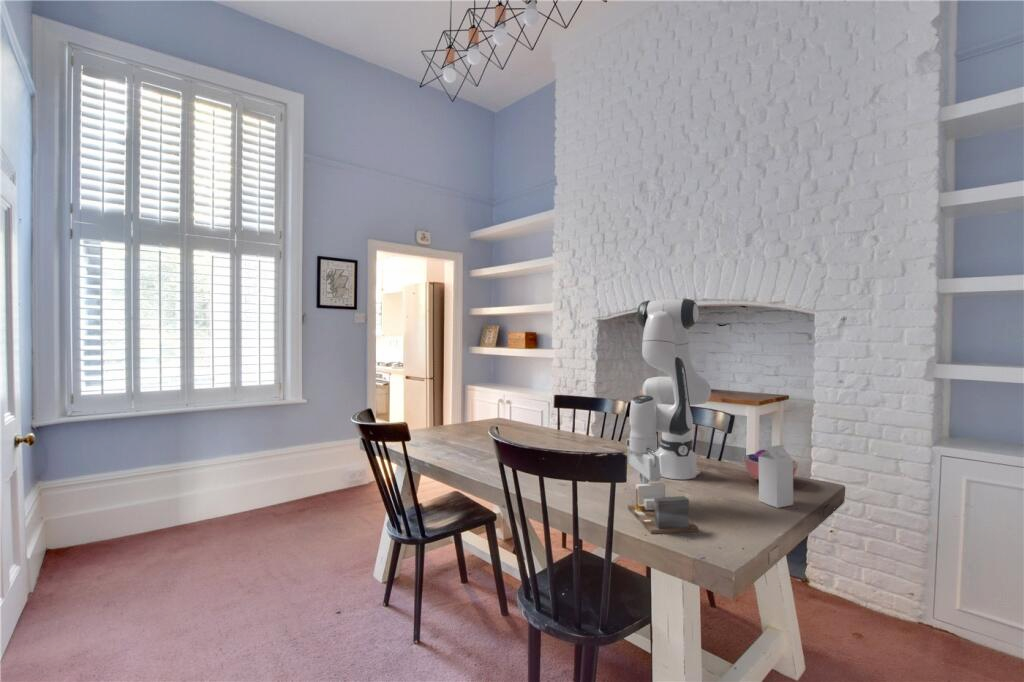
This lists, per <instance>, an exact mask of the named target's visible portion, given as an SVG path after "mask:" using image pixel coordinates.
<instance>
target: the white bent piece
mask: <svg viewBox="0 0 1024 682" xmlns="http://www.w3.org/2000/svg"><path fill="white" fill-rule="evenodd" d="M636 489H638V505H639V506H642V505H643V506H644V508H645V509H646V510H654V498H655V497H666V484H665V483H663V482H658V483H657V482H652V483H648V484H640V483H636V484H635V490H636Z"/></svg>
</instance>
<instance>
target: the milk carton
mask: <svg viewBox="0 0 1024 682" xmlns="http://www.w3.org/2000/svg"><path fill="white" fill-rule="evenodd" d="M793 460H794V459H793V458H792V456H791V455H790V454H789V453H788V451H787V450H786V449H785V447H784V444H778V445H770V446H769V445H768V446H766V451H765V452H764V453H763V454H761V455H760V456H759V480H758V501H759V502H761V503H763V504H765V505H769V506H772V507H774V508H776V509H779V508H783V507H784V508H785V507H788V506H793V505H794V478H793Z"/></svg>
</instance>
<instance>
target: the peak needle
mask: <svg viewBox="0 0 1024 682" xmlns="http://www.w3.org/2000/svg"><path fill="white" fill-rule="evenodd" d="M635 505H636V506H635V510H644V506H643V505H642V506H638V489H636V488H635Z"/></svg>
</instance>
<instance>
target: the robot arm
mask: <svg viewBox="0 0 1024 682" xmlns="http://www.w3.org/2000/svg"><path fill="white" fill-rule="evenodd" d="M699 312H700V311H699V307H698V304H697V302H695V300H694V299H690V298H683V299H682V298H665V299H664V298H663V299H657V300H649V299H648V300H645V301H642V302H641V303H640V304H639V305H638V308H637V312H636V317H637V322H638V324H639V325H640V326H641V327H642V328H643V334H642V342H641V344H642V345H641V355H642V358H643V360H644V362H646V363H647V364H648V365H649V366H650V367H652V368H654V369H656V370H658V371H661V372H663V373H666V375H667V376H654V377H649V378H646V379H645V381H644V382H643V384H642V386H641V387H642V389H641V390H642V394H641V395H636V396H634V397H633V398H632V399H631V400H630V401H631V402H630V405H629V406H630V407H629V426H630V433H629V438H627V439H626V440H625V443H626V446H627V459H628V460H627V461H628V463H629V465H630V466H631V468H633V469H635V470H636V471H637V474H638V478H639V484H649V482H656V481H660V479H661V478H665V479H671V480H691V479H695V478H696V477H697V476H699V475H701V470H699V469H698V464H697V455H696V452H694V451H693V449H694V448H693V447H694V446H693V445H694V442H693V439H692V429H693V423H694V420H693V413H692V408H691V406H697V405H698V406H699V405H704V404H706V403H708V401H709V400H710V397H711V395H712V388H711V385H710V384H709V382H708V381H707V380H706V379H705V378H703V377H702V376H701V375H700V374H699V373H698V372H697V370H695V368H694V366H693V364H692V360H691V353H690V336H689V335H690V333H689V329H690V328H692V327H693V326H695V325H696V323H697V322H698V319H699V314H700V313H699ZM657 433H661V438H660V442H659V448H658V434H657Z"/></svg>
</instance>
